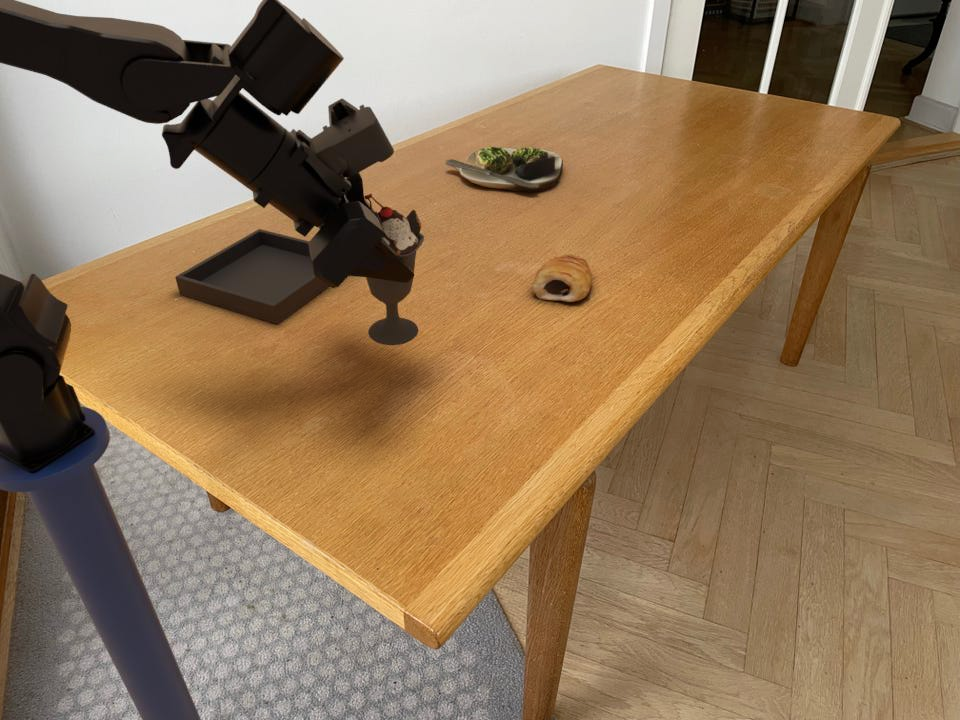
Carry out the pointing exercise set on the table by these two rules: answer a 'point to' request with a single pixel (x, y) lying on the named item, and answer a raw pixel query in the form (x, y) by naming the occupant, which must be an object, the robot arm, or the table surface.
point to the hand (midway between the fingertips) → (403, 261)
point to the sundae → (405, 243)
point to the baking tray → (256, 277)
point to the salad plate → (511, 168)
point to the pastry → (563, 279)
